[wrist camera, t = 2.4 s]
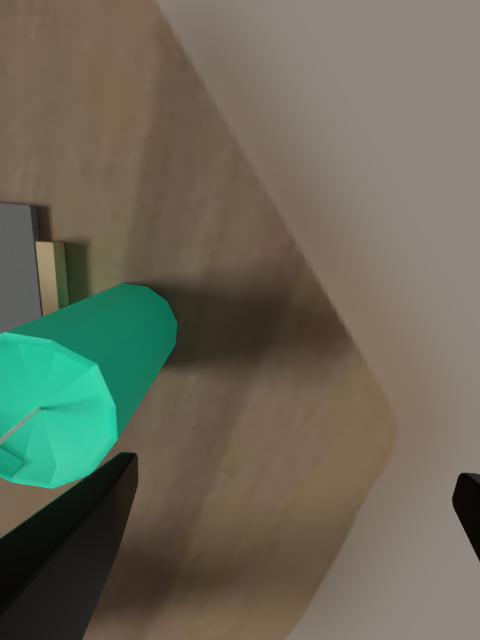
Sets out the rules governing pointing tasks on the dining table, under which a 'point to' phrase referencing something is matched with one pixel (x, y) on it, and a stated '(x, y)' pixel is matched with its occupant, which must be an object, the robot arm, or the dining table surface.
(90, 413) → the candle
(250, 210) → the dining table surface
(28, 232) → the mat
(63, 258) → the strip
